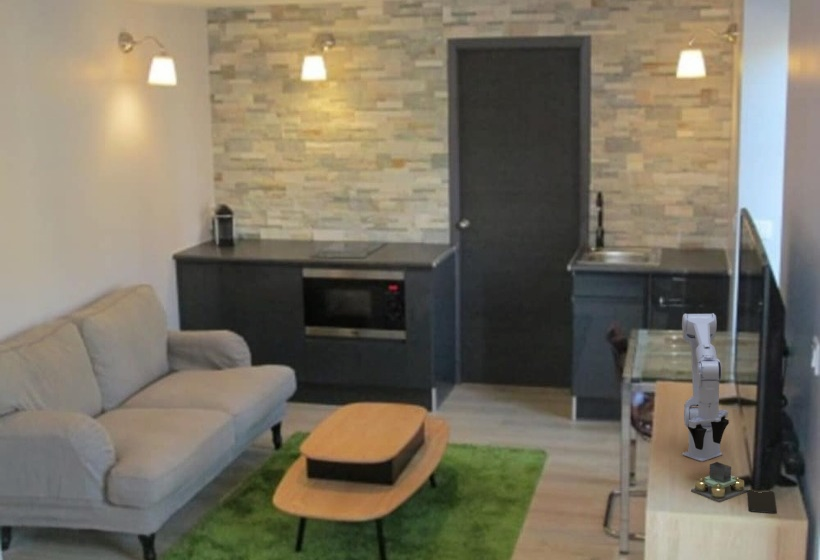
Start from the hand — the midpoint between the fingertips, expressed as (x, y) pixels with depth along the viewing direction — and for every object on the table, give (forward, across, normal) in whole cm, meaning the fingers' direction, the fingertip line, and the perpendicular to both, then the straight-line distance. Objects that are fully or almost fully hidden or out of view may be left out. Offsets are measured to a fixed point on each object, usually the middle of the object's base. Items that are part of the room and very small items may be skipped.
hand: (707, 445), depth 319 cm
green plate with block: (+6, -6, -10) cm, 13 cm away
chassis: (+9, -6, -10) cm, 15 cm away
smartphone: (+10, -3, -22) cm, 24 cm away
